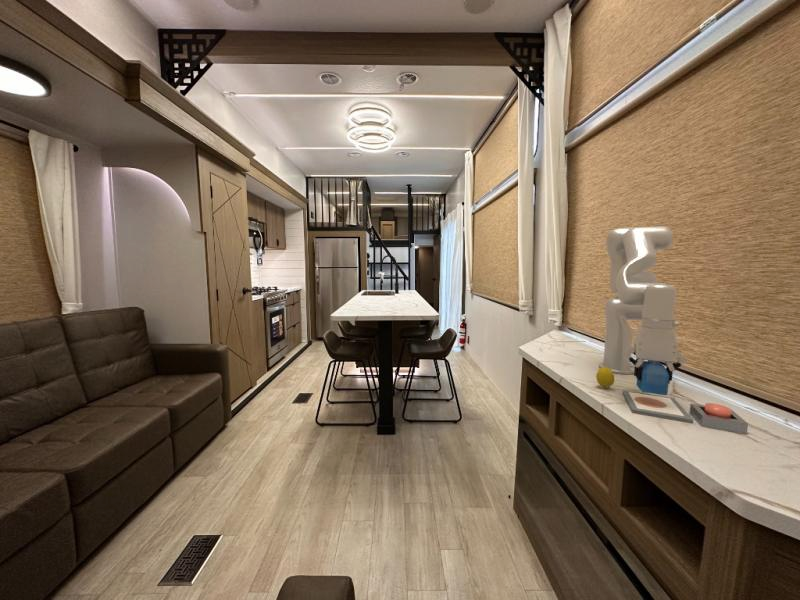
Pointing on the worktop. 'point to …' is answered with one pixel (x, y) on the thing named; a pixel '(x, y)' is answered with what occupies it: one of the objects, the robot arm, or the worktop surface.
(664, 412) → the board
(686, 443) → the worktop surface
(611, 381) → the lemon
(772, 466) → the worktop surface
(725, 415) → the button
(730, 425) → the button base
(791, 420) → the worktop surface
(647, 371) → the perfume bottle
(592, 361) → the worktop surface
